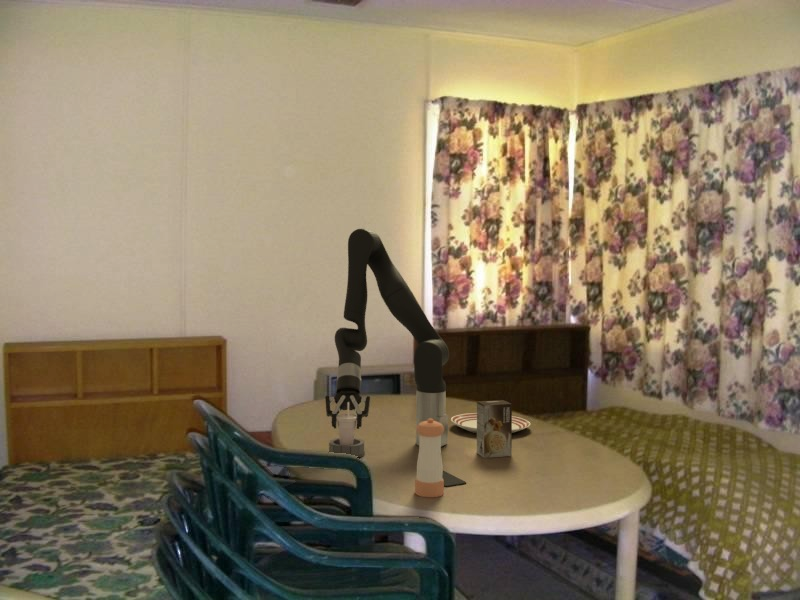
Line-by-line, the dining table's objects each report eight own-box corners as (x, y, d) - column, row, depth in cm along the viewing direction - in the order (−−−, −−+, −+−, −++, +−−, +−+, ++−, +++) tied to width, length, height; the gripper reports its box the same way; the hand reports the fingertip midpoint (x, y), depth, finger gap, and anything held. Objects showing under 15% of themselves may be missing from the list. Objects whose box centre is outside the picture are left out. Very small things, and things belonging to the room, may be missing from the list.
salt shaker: (449, 493, 199) (450, 418, 198) (430, 499, 194) (431, 423, 192) (428, 486, 204) (429, 414, 203) (409, 492, 199) (410, 418, 198)
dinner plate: (494, 417, 289) (495, 408, 289) (547, 432, 266) (547, 423, 266) (434, 426, 274) (434, 416, 274) (484, 443, 251) (484, 432, 251)
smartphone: (444, 486, 203) (415, 470, 216) (444, 490, 203) (415, 474, 216) (468, 482, 207) (437, 467, 220) (468, 485, 207) (437, 470, 220)
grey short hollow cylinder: (371, 452, 237) (371, 440, 237) (352, 461, 227) (352, 448, 227) (341, 447, 242) (341, 435, 242) (321, 455, 233) (321, 443, 232)
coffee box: (503, 451, 241) (504, 399, 240) (512, 456, 235) (513, 403, 234) (475, 452, 238) (476, 400, 237) (483, 458, 232) (484, 405, 231)
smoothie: (349, 451, 230) (349, 405, 229) (331, 448, 234) (331, 402, 233) (361, 447, 236) (361, 401, 235) (344, 444, 239) (344, 399, 238)
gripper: (325, 373, 241) (321, 420, 230) (371, 374, 241) (370, 420, 230) (326, 387, 246) (322, 433, 235) (371, 388, 247) (370, 434, 236)
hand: (346, 427), depth 233 cm, fingers closed on smoothie, 6 cm apart
